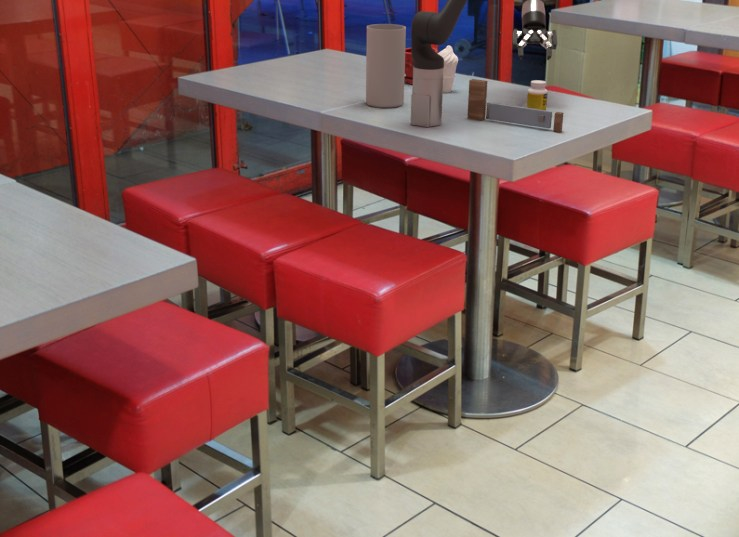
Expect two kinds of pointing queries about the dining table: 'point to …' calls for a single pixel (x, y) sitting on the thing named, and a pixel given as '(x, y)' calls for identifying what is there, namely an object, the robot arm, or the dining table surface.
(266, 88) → the dining table surface
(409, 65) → the plant pot
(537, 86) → the pill bottle
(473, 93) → the wooden blocks
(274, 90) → the dining table surface
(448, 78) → the soft serve ice cream cone
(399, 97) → the cylinder vase
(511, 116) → the gate
